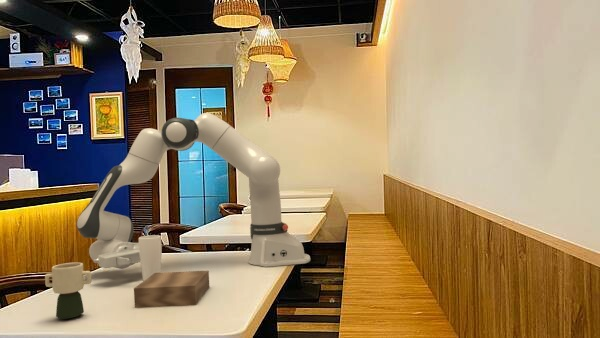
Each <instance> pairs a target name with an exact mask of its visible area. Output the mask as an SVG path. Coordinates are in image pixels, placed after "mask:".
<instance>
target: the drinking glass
mask: <svg viewBox="0 0 600 338" xmlns="http://www.w3.org/2000/svg"><path fill="white" fill-rule="evenodd" d="M137 242H138V243H139V256H140V262H139V263H140V269H141V277H142V282H143V281H145V280H146V279H147V278H149V277H150V276H151V275H153V274H154V273H162V255H161V254H163V253H162V249H163V248H162V236H161V235H157V234H156V235H155V234H154V235H153V234H152V235H151V234H149V235H144V236H139V237H138V241H137Z"/></svg>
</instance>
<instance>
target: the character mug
mask: <svg viewBox="0 0 600 338" xmlns="http://www.w3.org/2000/svg"><path fill="white" fill-rule="evenodd" d="M85 276H86V279H85ZM50 278H51V281H52V282H50ZM44 281H45V282H44V283H45V286H46V288H47V287H48V288H52V291H53V293H54V294H58V296H57V301H56V310H55V311H56V314H55V315H56V318H58V319H62V320H64V319H65V320H67V319H71V318H77V317H78V316H80V315H82V314H83V313H85V310H84V304H83V299H82V295H81V293H80V291H81V290H83V289H84V286H85V285H89V284H92V272H91V271H90V270H84V263H83V262H66V263H60V264H57V265H53V266H52V267H51V273H46V274H45V276H44Z"/></svg>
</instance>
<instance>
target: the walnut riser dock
mask: <svg viewBox="0 0 600 338" xmlns="http://www.w3.org/2000/svg"><path fill="white" fill-rule="evenodd" d="M209 289H210V271H209V270H207V269H206V270H191V271H190V270H189V271H186V270H184V271H171V272H170V271H166V272H161V273H154V274H153V275H151V276H150V277H149V278H147V279H146V280H145V281H143V280H142V282H141V283H139V284H138V285H136V286H135V287H133V297H134V298H133V299H134V301H133V303H134V308H153V307H154V308H155V307H156V306H157V307H177V306H194V305H195V306H196V305H197V304H198V303H199V301H201V299H202V298H203V296H204V295H205V294H206V293H207V291H208V290H209ZM157 307H156V308H157Z"/></svg>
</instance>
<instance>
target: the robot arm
mask: <svg viewBox="0 0 600 338" xmlns="http://www.w3.org/2000/svg"><path fill="white" fill-rule="evenodd" d="M197 142H199V143H201V144H203V145H205V146H206V147H208V149H211V150H212V152H214V153H215V154H216V155H218V157H221V158H222V159H223V160H225V162H227V163H229V164H230V166H232V167H234V168H235V169H237V170H238V171H239V172H241V174H243V175H245V176H246V178H248V187H249V199H250V200H249V201H250V218H251V219H250V227H249V230H250V231H249V232H250V239H251V244H250V246H251V248H250V255H249V260H248V263H249V264H251V265H255V266H261V267H265V268H267V267H278V266H279V267H280V266H289V265H301V264H302V265H303V264H307V263H310V262H311V256H310V255H309V254H307V253H305V250H304V249H305V248H304V246H303V243H302V241H300V240H299V239H298V238H296V237H295V236H293V235H292V234H290V233H289V232H288V229H289V225H288V223H285V222H283V221H282V210H281V209H282V206H281V202H282V201H281V196H280V195H281V193H280V184H279V178H280V175H281V167H280V163H279V161H278V160H277V159H276V158H275V157H274V156H272V155H271V154H270V153H268V152H266V151H265V150H264V149H263V148H261V147H260V146H259V145H257V144H255V143H254V142H253V141H251V140H250V139H249V138H247V137H246V136H245V135H243V134H242V133H241V132H239V131H238V130H237V129H236V128H234V127H233V126H232V125H230V124H229V123H228V122H226V121H225V120H223V119H222V118H220V117H218V116H216V115H215V114H212V113H210V112H204V113H201V114H200V115H198V116H197V117H196V118H195V119H188V118H185V117H184V118H183V117H173V118H170V119H167V121H166V122H164V124H163V125H162V127H161V130H158V129H156V128H152V127H151V128H150V127H149V128H143V129H141V131H140V132H139V134H138V135H137V136H136V137H135V139H134V140H133V143H132V145H131V147H130V149H129V152H128V153H127V156H126V157H125V158H124V160H123V161H122V162H121V163H120V164H119V165H115V166H113V167H112V168H111V169H110V171H109V172H108V173H107V174H106V176H105V177H104V179H103V180H102V181H101V183H100V184H99V187H98V188H97V189H96V192H94V195H93V196H92V197H91V200H90V201H89V203H88V204H87V205H86V207H85V208H84V209H83V210H82V212H81V213H80V214H79V215H78V218H77V221H76V228H77V231H78V232H79V234H80V236H82V238H86V239H87V238H88V239H97V240H96V241H94V242H93V243H91V245H90V246H89V249H88V252H89V256H90V258H91V260H92V261H93V263H95V264H98V267H100V268H103V269H111V268H114V269H115V268H116V269H121V270H124V269H127V268H129V267H131V266H133V265H135V264H137V263H141V262H140V256H139V243H138V241H133V242H131V241H132V239H133V236H134V224H133V221H132V220H131V218H130V217H129V216H127V215H122V214H119V213H113V212H110V211H106V210H105V208H106V206H107V205H108V203H109V201H111V198H112V197H113V195H114V194H115V192H116V191H117V190H118V189H120V188H121V187H124V186H128V185H139V184H144V183H146V182H147V183H148V181H151V180H152V179H153V178H154V176H155V175H156V173H157V172H158V168H159V166H160V164H161V161H162V159H163V156H164V155H165V153H166V152H167V151H178V152H183V151H187V150H189V149H191V148H192V147H193V145H195V143H197ZM162 254H163V253H162ZM162 254H161V256H163V255H162Z"/></svg>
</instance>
